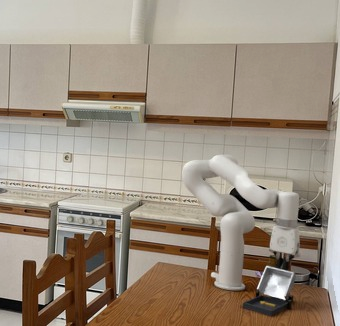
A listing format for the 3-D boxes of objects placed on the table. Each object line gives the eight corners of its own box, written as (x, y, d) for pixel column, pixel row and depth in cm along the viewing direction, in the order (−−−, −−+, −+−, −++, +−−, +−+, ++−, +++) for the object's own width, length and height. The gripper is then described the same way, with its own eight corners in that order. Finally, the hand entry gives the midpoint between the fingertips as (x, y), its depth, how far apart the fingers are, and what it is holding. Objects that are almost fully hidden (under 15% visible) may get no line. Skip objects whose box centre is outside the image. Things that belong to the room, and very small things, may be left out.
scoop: (259, 293, 193) (256, 288, 191) (273, 257, 200) (271, 253, 198) (287, 301, 185) (285, 296, 183) (301, 263, 192) (299, 259, 190)
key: (261, 300, 190) (261, 302, 190) (259, 302, 188) (259, 303, 188) (276, 304, 186) (276, 305, 186) (274, 305, 185) (274, 307, 185)
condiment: (274, 280, 224) (276, 254, 223) (288, 285, 216) (290, 258, 215) (261, 281, 221) (263, 254, 220) (274, 286, 213) (276, 259, 212)
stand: (254, 300, 193) (255, 291, 193) (266, 294, 201) (267, 287, 201) (289, 309, 184) (289, 301, 184) (300, 304, 191) (300, 295, 191)
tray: (242, 307, 183) (243, 302, 183) (260, 299, 194) (261, 294, 194) (271, 316, 176) (271, 311, 176) (288, 307, 186) (288, 302, 186)
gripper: (263, 221, 196) (259, 266, 197) (303, 227, 184) (299, 276, 185) (271, 219, 201) (267, 264, 202) (310, 226, 190) (307, 273, 191)
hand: (283, 269), depth 194 cm, fingers closed on scoop
